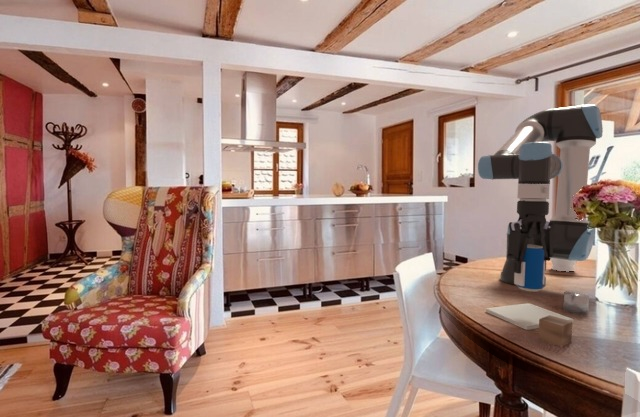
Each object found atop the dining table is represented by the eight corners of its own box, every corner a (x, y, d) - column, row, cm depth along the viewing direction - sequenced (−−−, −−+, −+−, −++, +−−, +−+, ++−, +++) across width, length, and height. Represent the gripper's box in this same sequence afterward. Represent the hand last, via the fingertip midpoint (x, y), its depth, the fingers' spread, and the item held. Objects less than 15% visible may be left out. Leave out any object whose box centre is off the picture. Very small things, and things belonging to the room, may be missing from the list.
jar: (577, 269, 162) (579, 235, 161) (578, 274, 153) (580, 238, 152) (548, 266, 168) (550, 233, 167) (548, 270, 159) (549, 236, 158)
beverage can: (542, 293, 98) (544, 248, 97) (514, 289, 101) (516, 246, 101) (542, 288, 103) (544, 245, 103) (516, 284, 107) (518, 243, 106)
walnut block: (548, 335, 91) (549, 315, 91) (571, 342, 87) (572, 321, 87) (538, 339, 88) (539, 319, 88) (561, 347, 84) (562, 325, 84)
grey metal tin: (573, 306, 112) (574, 290, 112) (593, 313, 107) (594, 296, 106) (558, 308, 111) (559, 292, 110) (577, 315, 105) (578, 298, 104)
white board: (528, 306, 112) (528, 303, 112) (573, 322, 99) (573, 319, 99) (485, 311, 107) (485, 308, 107) (526, 329, 94) (526, 326, 94)
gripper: (516, 200, 94) (512, 290, 96) (572, 200, 100) (568, 284, 102) (493, 199, 101) (490, 283, 103) (547, 199, 107) (543, 278, 109)
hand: (529, 283), depth 102 cm, fingers closed on beverage can, 6 cm apart
